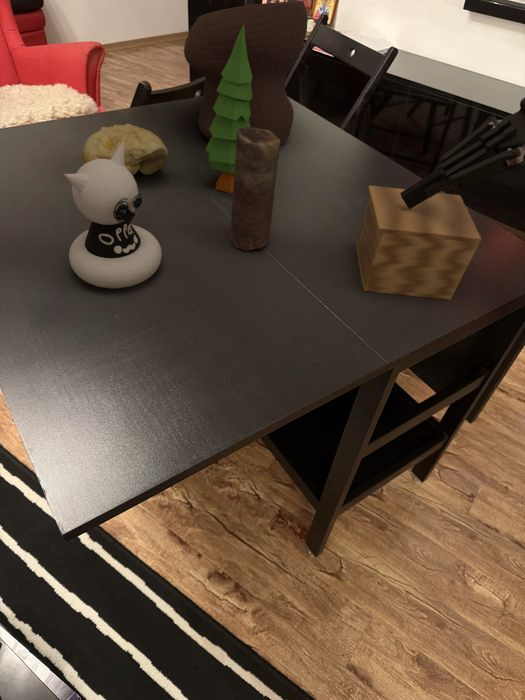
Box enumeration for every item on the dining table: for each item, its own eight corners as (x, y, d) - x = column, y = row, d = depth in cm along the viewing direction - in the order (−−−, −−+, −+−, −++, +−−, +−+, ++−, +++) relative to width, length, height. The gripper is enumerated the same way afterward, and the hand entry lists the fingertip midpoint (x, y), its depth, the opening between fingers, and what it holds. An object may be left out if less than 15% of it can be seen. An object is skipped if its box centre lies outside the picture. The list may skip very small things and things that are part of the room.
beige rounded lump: (107, 166, 109) (69, 181, 97) (106, 114, 103) (65, 123, 91) (176, 182, 107) (147, 199, 95) (179, 130, 101) (148, 142, 89)
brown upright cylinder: (231, 227, 93) (238, 121, 78) (269, 231, 93) (282, 126, 78) (228, 250, 87) (234, 141, 73) (268, 254, 88) (282, 146, 73)
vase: (299, 121, 132) (319, -13, 110) (279, 163, 113) (299, 11, 92) (205, 102, 134) (207, -32, 112) (171, 140, 116) (165, -12, 94)
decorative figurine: (108, 307, 74) (87, 187, 59) (53, 264, 80) (22, 145, 65) (180, 268, 82) (177, 154, 68) (125, 231, 88) (112, 119, 74)
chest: (363, 291, 83) (382, 233, 75) (355, 246, 93) (371, 189, 84) (450, 299, 84) (479, 243, 75) (434, 254, 93) (458, 199, 85)
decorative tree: (257, 189, 104) (274, 27, 82) (225, 202, 99) (233, 33, 77) (227, 171, 108) (236, 13, 86) (195, 182, 103) (195, 17, 81)
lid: (377, 232, 75) (379, 228, 74) (367, 189, 84) (368, 185, 83) (479, 243, 75) (481, 238, 75) (458, 199, 85) (460, 195, 84)
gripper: (534, 68, 69) (388, 165, 81) (571, 102, 60) (400, 205, 72) (550, 111, 73) (408, 197, 85) (586, 148, 64) (422, 239, 76)
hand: (404, 201), depth 78 cm, fingers closed
